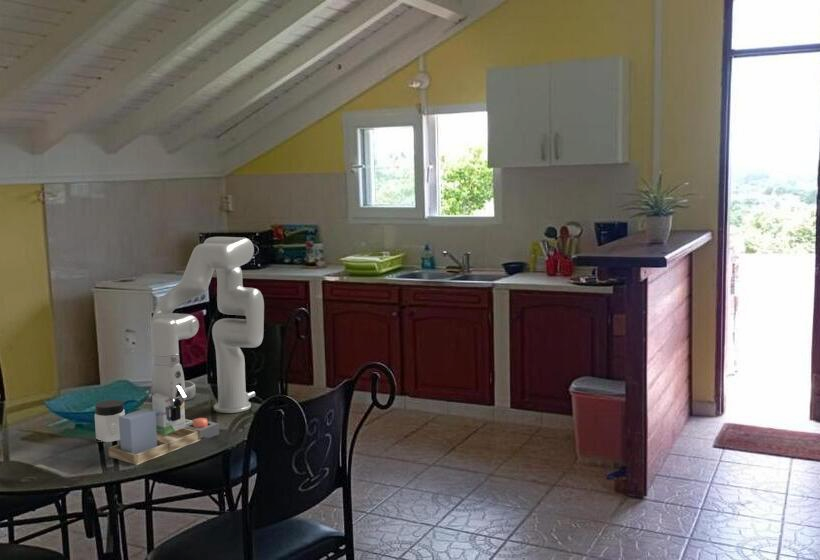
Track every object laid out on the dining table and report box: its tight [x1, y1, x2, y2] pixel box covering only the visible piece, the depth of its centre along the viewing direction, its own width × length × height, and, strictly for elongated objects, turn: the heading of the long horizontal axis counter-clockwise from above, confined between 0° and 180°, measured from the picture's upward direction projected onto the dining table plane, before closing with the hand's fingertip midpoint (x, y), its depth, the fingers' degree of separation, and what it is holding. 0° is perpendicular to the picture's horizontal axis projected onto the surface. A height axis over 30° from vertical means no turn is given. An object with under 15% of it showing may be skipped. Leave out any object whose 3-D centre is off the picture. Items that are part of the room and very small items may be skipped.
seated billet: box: [119, 408, 157, 454], centre depth 242 cm, size 9×5×12 cm, turn 147°
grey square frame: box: [185, 420, 220, 439], centre depth 262 cm, size 8×8×4 cm
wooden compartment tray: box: [107, 428, 201, 466], centre depth 248 cm, size 24×13×4 cm, turn 147°
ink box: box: [151, 393, 186, 435], centre depth 251 cm, size 9×5×12 cm, turn 148°
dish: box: [184, 380, 196, 402], centre depth 303 cm, size 14×14×5 cm
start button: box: [192, 417, 208, 429], centre depth 261 cm, size 4×4×4 cm
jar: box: [94, 399, 126, 443], centre depth 257 cm, size 9×8×12 cm
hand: (169, 417), depth 252 cm, fingers closed on ink box, 5 cm apart
